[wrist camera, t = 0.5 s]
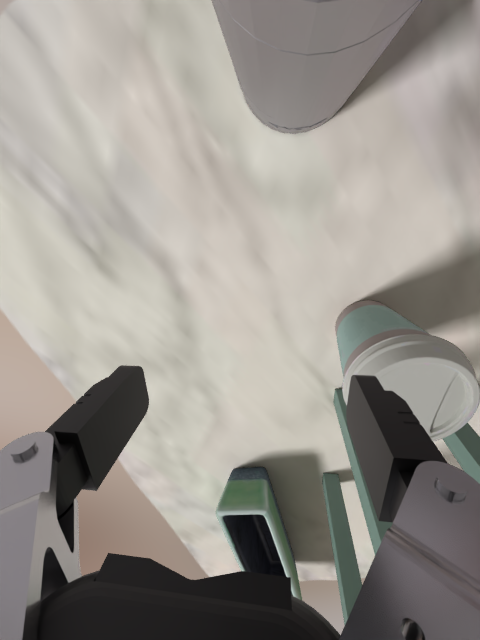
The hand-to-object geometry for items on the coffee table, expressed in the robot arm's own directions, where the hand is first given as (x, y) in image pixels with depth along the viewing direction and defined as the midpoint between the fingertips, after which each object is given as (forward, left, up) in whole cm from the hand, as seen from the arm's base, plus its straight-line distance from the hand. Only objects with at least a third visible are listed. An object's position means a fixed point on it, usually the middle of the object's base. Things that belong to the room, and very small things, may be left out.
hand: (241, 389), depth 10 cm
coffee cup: (+6, +11, -19) cm, 23 cm away
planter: (+42, +1, -19) cm, 46 cm away
